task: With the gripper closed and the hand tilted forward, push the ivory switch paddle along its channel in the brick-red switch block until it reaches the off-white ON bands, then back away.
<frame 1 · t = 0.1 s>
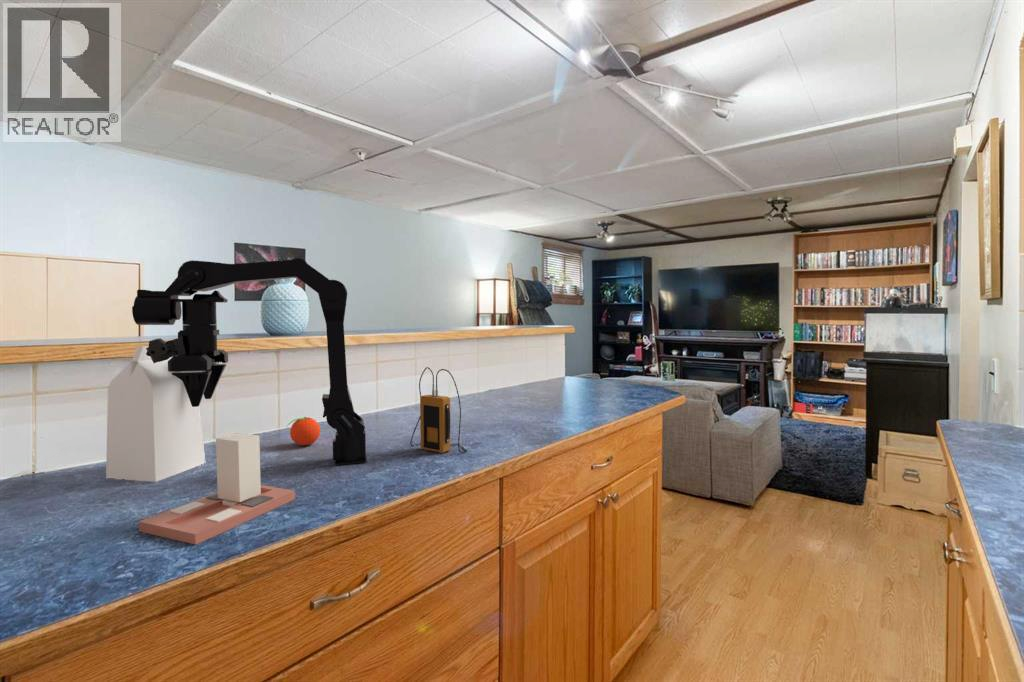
hand: (202, 402, 96), 15 cm above the counter, tool pointing down, fingers open, 9 cm apart
milk: (158, 471, 100), on the counter
switch block: (223, 513, 78), on the counter
switch tab: (238, 469, 80), point 6 cm above the counter, slide at 0.0 cm
clementine: (303, 446, 119), on the counter
multimeter: (445, 447, 118), on the counter
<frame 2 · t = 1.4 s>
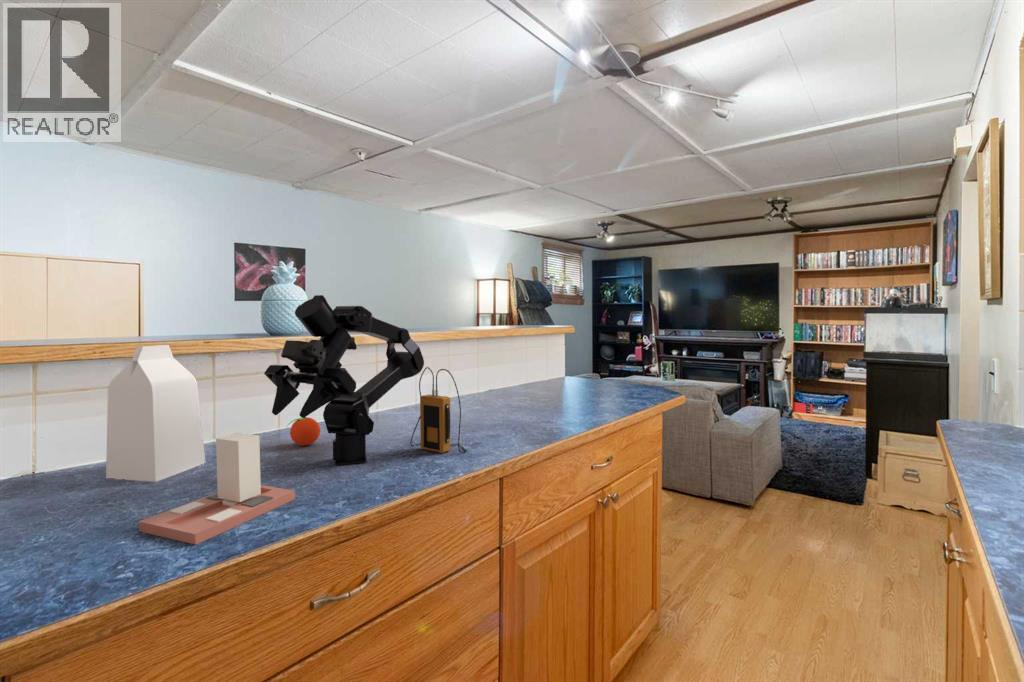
hand: (287, 415, 90), 14 cm above the counter, tool tilted 45°, fingers open, 6 cm apart
nothing on the counter moved.
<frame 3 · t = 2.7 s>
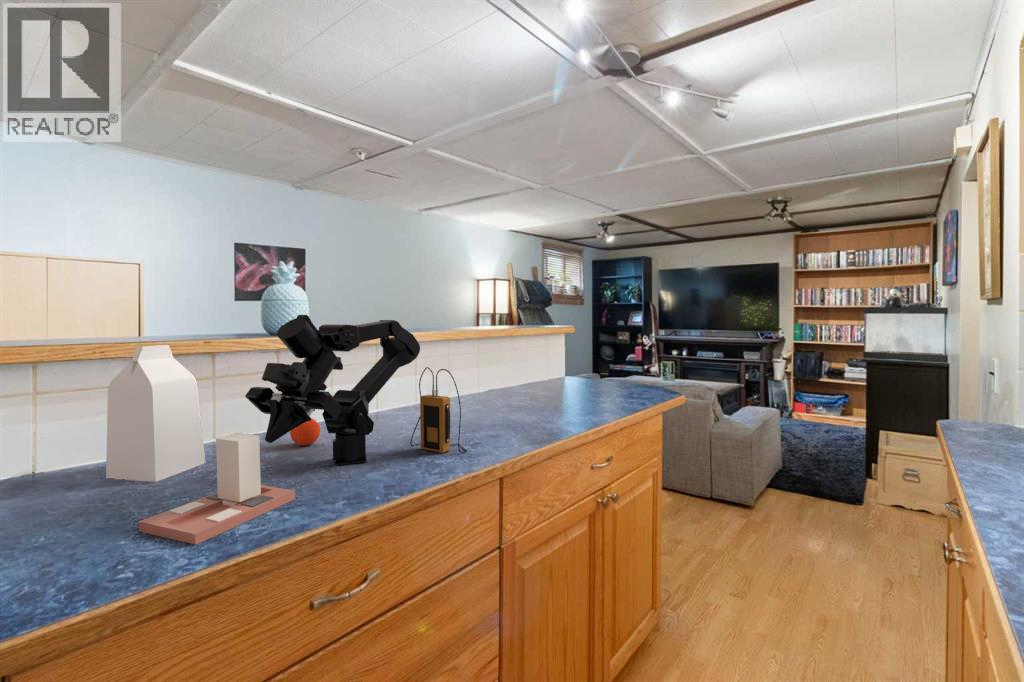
hand: (267, 441, 86), 10 cm above the counter, tool tilted 45°, fingers closed
nothing on the counter moved.
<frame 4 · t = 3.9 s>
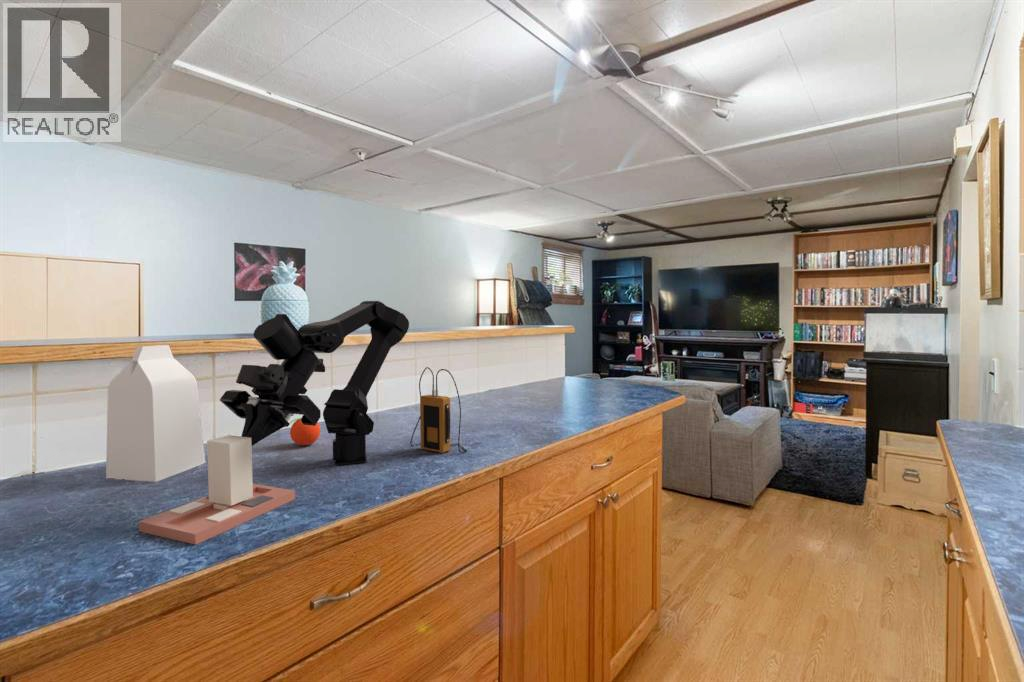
hand: (242, 448, 81), 10 cm above the counter, tool tilted 45°, fingers closed, pressing on switch tab
switch tab: (230, 472, 79), point 6 cm above the counter, slide at 1.6 cm, touching gripper
everything else where it was.
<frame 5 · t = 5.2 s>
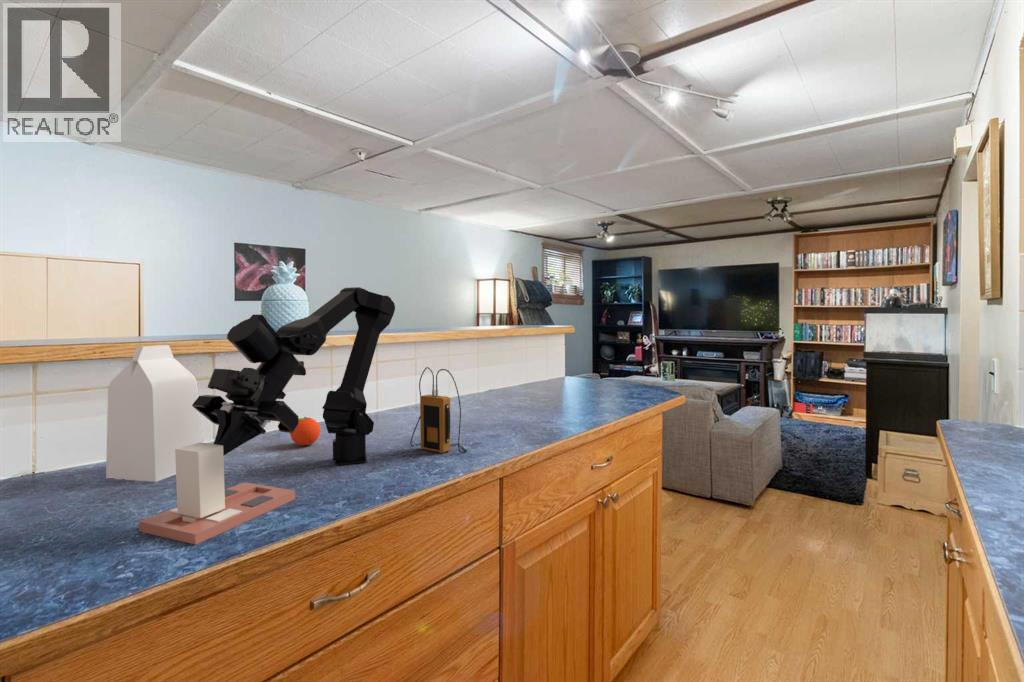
hand: (213, 457, 76), 10 cm above the counter, tool tilted 45°, fingers closed, pressing on switch tab
switch tab: (200, 482, 74), point 6 cm above the counter, slide at 6.7 cm, touching gripper
everything else where it was.
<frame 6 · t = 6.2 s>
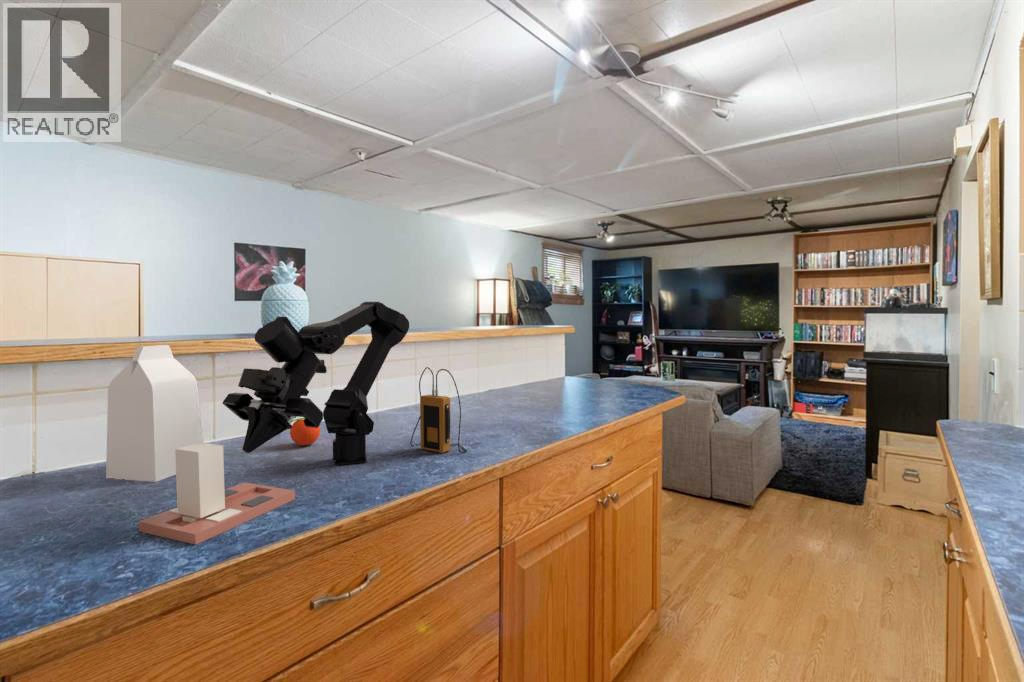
hand: (245, 451, 81), 9 cm above the counter, tool tilted 45°, fingers closed
switch tab: (200, 482, 74), point 6 cm above the counter, slide at 6.7 cm
everything else where it was.
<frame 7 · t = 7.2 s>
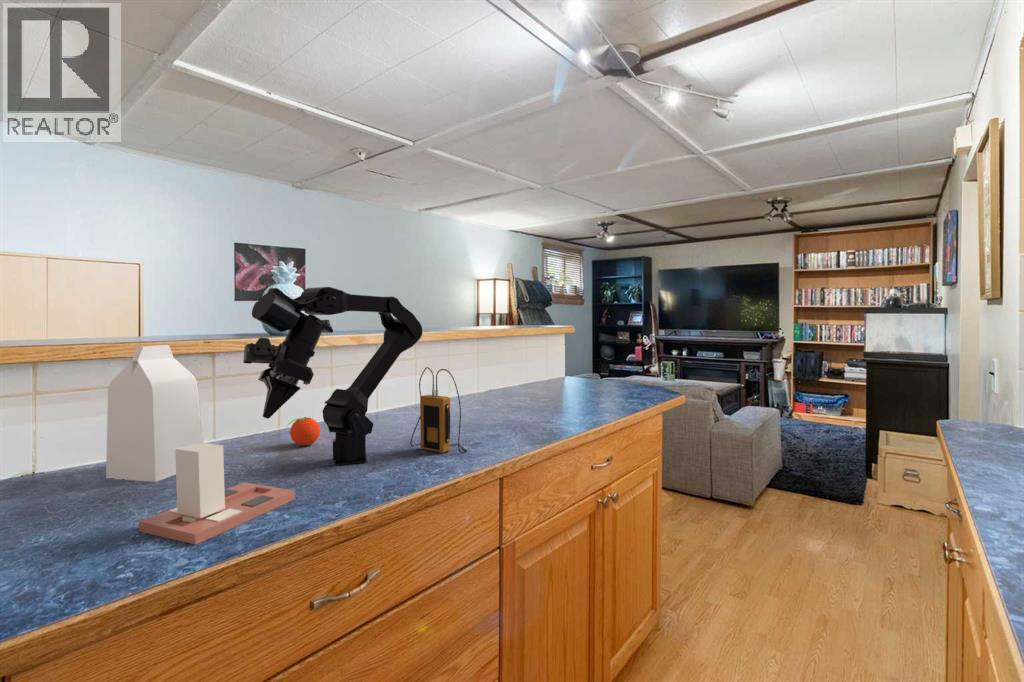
hand: (265, 417, 90), 13 cm above the counter, tool tilted 30°, fingers closed
nothing on the counter moved.
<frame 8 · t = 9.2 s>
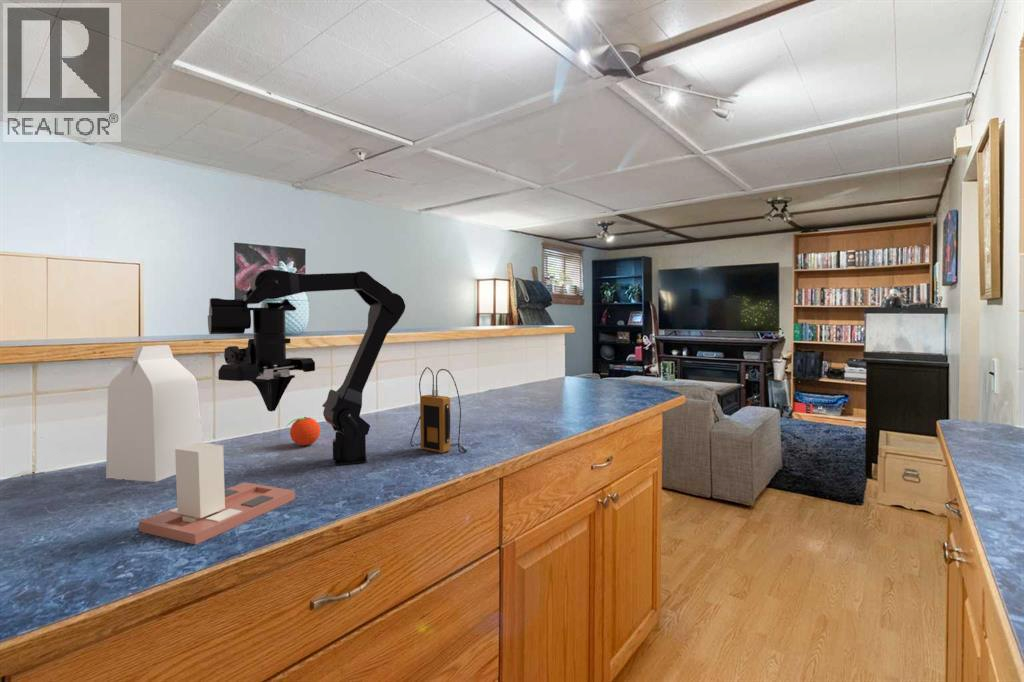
hand: (271, 411, 96), 13 cm above the counter, tool pointing down, fingers closed
nothing on the counter moved.
at the end: switch tab slide at 6.7 cm; switch tab touching nothing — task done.
